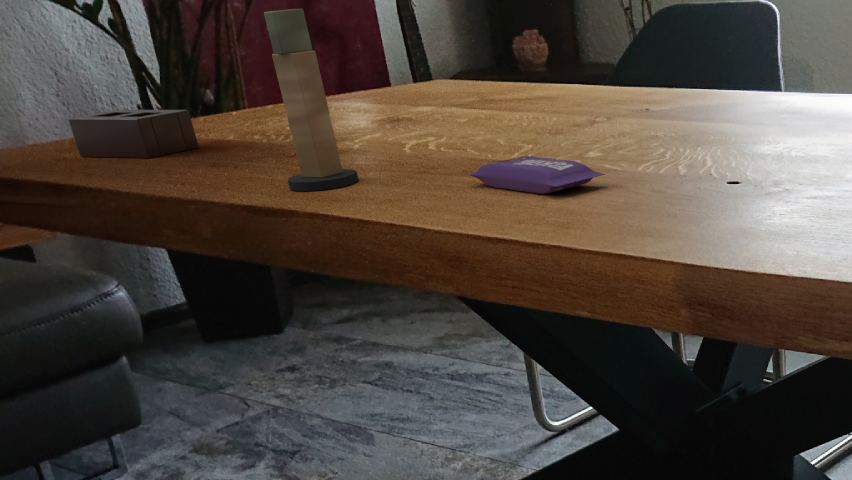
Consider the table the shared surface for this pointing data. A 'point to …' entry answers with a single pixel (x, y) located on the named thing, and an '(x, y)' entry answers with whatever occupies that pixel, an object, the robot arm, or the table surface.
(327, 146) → the green and tan bar
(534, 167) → the snack package
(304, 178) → the coaster
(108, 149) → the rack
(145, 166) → the table surface
